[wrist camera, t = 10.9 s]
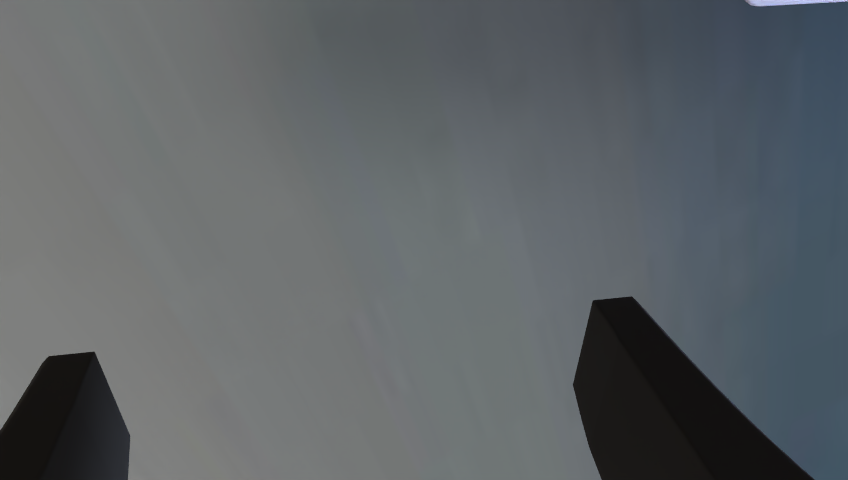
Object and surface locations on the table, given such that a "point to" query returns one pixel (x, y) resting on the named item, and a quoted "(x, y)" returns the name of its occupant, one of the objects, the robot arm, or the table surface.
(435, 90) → the table surface
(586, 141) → the table surface
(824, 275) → the table surface
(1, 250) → the table surface
